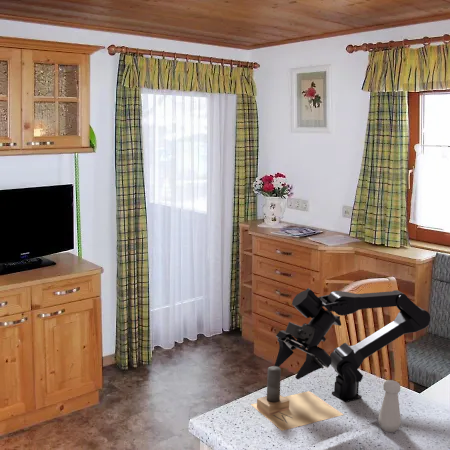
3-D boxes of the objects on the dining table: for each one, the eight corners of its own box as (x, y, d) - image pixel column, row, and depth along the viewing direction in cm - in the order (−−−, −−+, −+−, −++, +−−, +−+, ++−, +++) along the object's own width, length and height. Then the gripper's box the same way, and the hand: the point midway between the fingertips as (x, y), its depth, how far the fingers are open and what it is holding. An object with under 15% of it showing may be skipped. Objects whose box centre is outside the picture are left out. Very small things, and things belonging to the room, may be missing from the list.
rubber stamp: (276, 401, 166) (278, 362, 164) (289, 408, 161) (290, 369, 159) (256, 407, 162) (258, 368, 160) (268, 415, 157) (270, 375, 155)
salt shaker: (401, 435, 151) (404, 388, 149) (378, 432, 152) (381, 385, 150) (399, 424, 157) (402, 378, 155) (377, 421, 158) (380, 376, 156)
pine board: (309, 395, 173) (309, 391, 172) (343, 419, 159) (343, 414, 158) (250, 409, 163) (250, 404, 163) (281, 436, 149) (281, 430, 149)
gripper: (282, 303, 170) (250, 346, 166) (326, 321, 155) (292, 369, 151) (301, 324, 176) (271, 366, 172) (345, 344, 160) (313, 391, 156)
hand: (285, 372), depth 162 cm, fingers open, 9 cm apart
